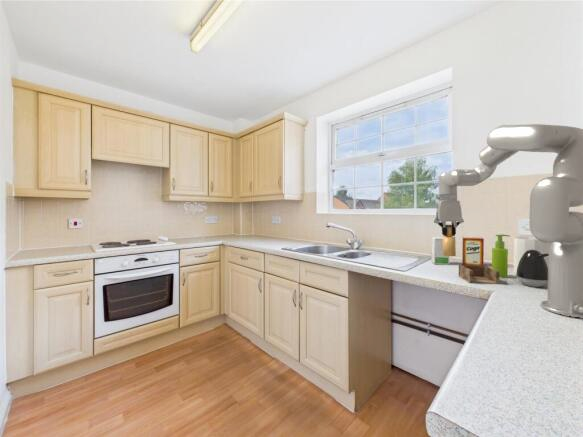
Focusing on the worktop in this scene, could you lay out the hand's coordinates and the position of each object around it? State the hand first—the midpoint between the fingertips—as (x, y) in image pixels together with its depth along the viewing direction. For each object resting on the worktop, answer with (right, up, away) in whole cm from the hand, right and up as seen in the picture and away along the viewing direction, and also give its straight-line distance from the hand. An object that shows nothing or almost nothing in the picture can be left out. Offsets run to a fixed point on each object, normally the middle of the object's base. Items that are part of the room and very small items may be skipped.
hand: (448, 235), depth 125 cm
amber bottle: (0, -10, 0) cm, 10 cm away
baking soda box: (+28, -19, +23) cm, 41 cm away
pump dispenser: (+25, -20, -17) cm, 36 cm away
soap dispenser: (+24, -20, -2) cm, 31 cm away
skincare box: (+12, -19, +28) cm, 35 cm away
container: (+42, -20, +1) cm, 46 cm away
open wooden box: (+8, -20, -8) cm, 23 cm away
